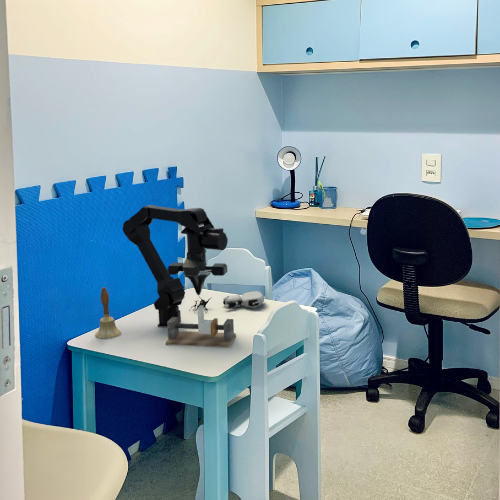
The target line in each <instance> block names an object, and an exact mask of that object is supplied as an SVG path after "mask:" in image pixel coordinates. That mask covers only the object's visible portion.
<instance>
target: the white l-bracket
mask: <svg viewBox="0 0 500 500" xmlns="http://www.w3.org/2000/svg"><path fill="white" fill-rule="evenodd" d="M204 309H205V307H204V308H203V305H200V306H199V307H198V310H197V321H198V322H197V324H198V329H197V330H198V331H197V332H199V334H211V322H212V321H213V319H205V313H204V312H205V310H204Z"/></svg>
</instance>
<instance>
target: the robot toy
mask: <svg viewBox="0 0 500 500" xmlns="http://www.w3.org/2000/svg"><path fill="white" fill-rule="evenodd" d="M222 299H223V302H222V303H223V308H228V309H236V308H238V307H239V308H240V307H241V306H242V305H243V307H246V308H250V309H256V308H258V307H259V306H261V305H263V304H264V302H265V299H264V294H263V293H262V292H261V290H258V291H256V290H255V291H248V292H244V293H243V294H241V295H239V294H234V295H227V296H226V297H223V298H222Z"/></svg>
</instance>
